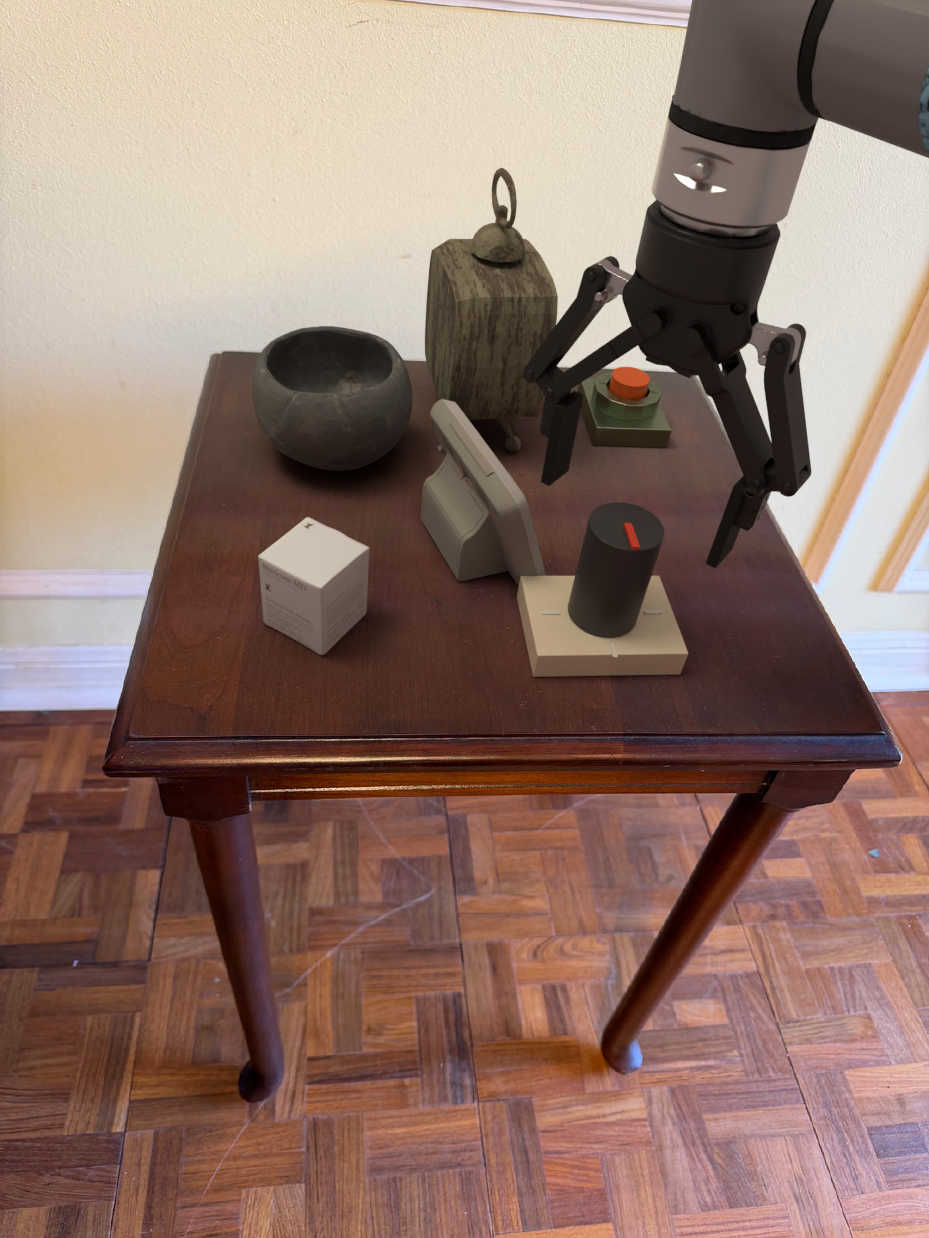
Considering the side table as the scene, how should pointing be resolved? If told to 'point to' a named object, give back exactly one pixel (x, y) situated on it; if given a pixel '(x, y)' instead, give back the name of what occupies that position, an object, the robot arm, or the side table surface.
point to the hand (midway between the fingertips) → (633, 515)
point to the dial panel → (582, 654)
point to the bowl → (332, 396)
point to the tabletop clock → (489, 319)
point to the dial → (614, 568)
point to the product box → (314, 584)
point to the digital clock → (476, 505)
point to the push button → (629, 383)
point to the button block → (623, 415)
